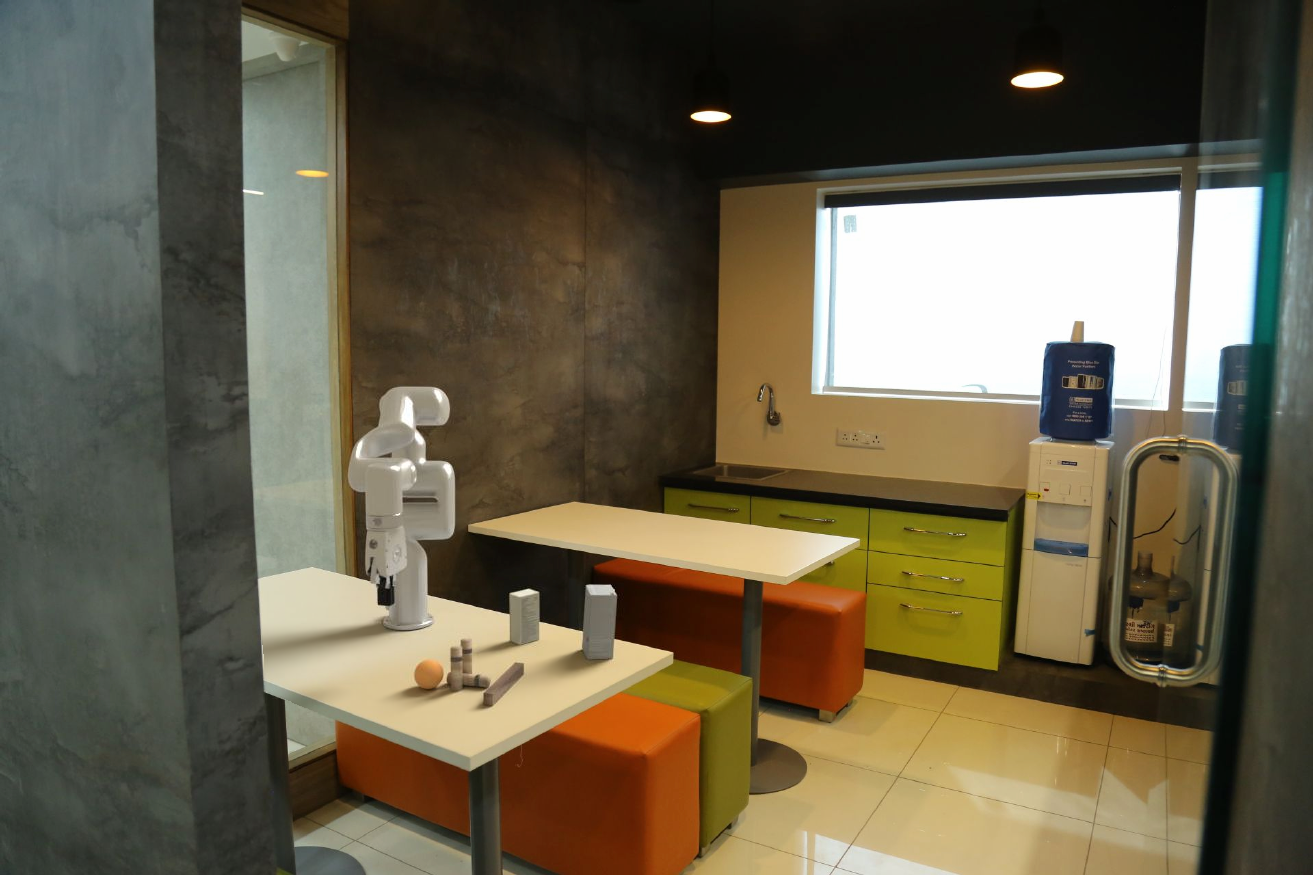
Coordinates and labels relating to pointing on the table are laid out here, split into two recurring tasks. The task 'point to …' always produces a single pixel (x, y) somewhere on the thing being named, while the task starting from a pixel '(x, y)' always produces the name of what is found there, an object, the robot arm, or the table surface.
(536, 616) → the skincare box
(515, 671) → the back wall
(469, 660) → the back pin left
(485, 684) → the front pin
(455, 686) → the back pin right
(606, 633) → the skincare box
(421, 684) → the ball
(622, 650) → the table surface
